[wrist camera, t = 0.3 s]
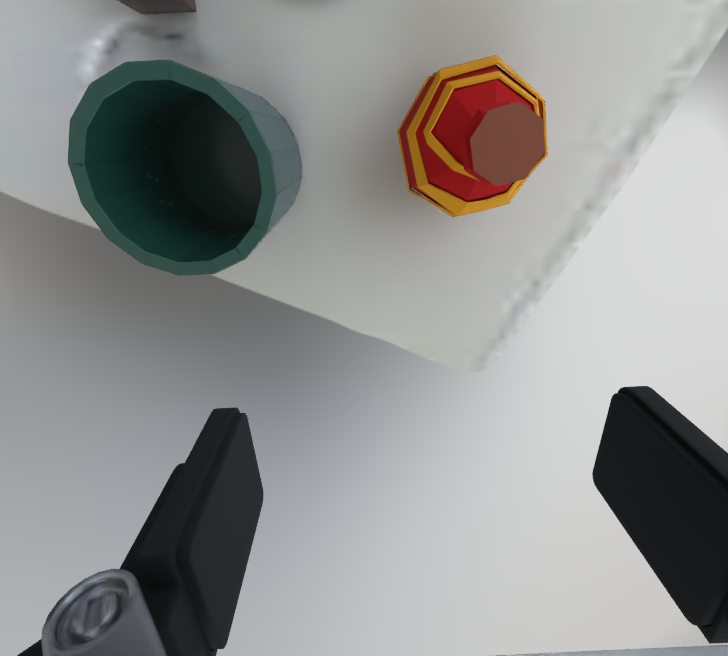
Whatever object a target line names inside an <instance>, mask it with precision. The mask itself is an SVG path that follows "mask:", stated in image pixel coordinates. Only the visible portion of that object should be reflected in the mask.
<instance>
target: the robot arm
mask: <svg viewBox="0 0 728 656" xmlns="http://www.w3.org/2000/svg"><path fill="white" fill-rule="evenodd" d="M593 481H594V484H595V486H596V487H597V489H598V491H599V492H600V493H601V495H602V496H603V498H604V499H605V501H606V502H607V503H608V505H609V507H610V508H611V510H612V511H613V512H614V514H615V515H616V517H617V518H618V520H619V521H620V523H621V524H622V526H623V527H624V528H625V530H626V531H627V533H628V534H629V536H630V537H631V538H632V540H633V542H634V543H635V545H636V546H637V547H638V549H639V550H640V552H641V553H642V555H643V556H644V558H645V559H646V561H647V562H648V564H649V565H650V567H651V568H652V569H653V571H654V572H655V574H656V575H657V577H658V578H659V580H660V581H661V583H662V584H663V585H664V587H665V588H666V590H667V591H668V593H669V594H670V596H671V597H672V599H673V600H674V601H675V603H676V604H677V606H678V607H679V609H680V610H681V612H682V613H683V615H684V616H685V617H686V618H687V620H688V621H689V622H691V623H692V624H693V625H697V626H698V627H699V629H700V630H701V632H702V633H703V634H704V636H705V638H706V639H707V640H708V642H709V643H728V453H727V452H726V451H724V450H723V449H722V448H721V447H720V446H718V445H717V444H716V443H715V442H714V441H713V440H712V439H710V438H709V437H708V436H707V435H706V434H704V433H703V432H702V431H701V430H700V429H699V428H698V427H696V426H695V425H694V424H693V423H692V422H690V421H689V420H688V419H687V418H686V417H685V416H683V415H682V414H681V413H680V412H679V411H677V410H676V409H675V408H674V407H673V406H672V405H671V404H669V403H668V402H667V401H666V400H665V399H664V398H662V397H661V396H660V395H659V394H657V393H656V392H655V391H654V390H653V389H652V388H650V387H648V386H637V387H623V388H621V389H620V390H619V391H618V393H616V394H614V395H613V396H612V399H611V403H610V407H609V410H608V415H607V418H606V422H605V426H604V430H603V434H602V438H601V442H600V446H599V450H598V453H597V457H596V461H595V465H594V469H593ZM262 503H263V487H262V483H261V478H260V474H259V469H258V465H257V460H256V455H255V451H254V446H253V441H252V437H251V432H250V428H249V423H248V419H247V415H246V414H245V413H240V412H239V409H238V408H219V409H214V410H213V411H212V412H211V414H210V416H209V418H208V420H207V422H206V424H205V426H204V428H203V429H202V431H201V433H200V435H199V437H198V439H197V441H196V443H195V445H194V447H193V449H192V451H191V452H190V454H189V456H188V458H187V460H186V462H185V463H182V464H179V465H178V466H176V468H175V469H174V471H173V473H172V474H171V476H170V478H169V479H168V481H167V483H166V485H165V487H164V489H163V491H162V492H161V494H160V496H159V498H158V500H157V501H156V503H155V505H154V507H153V509H152V511H151V512H150V514H149V516H148V518H147V520H146V522H145V523H144V525H143V527H142V529H141V531H140V533H139V534H138V536H137V538H136V540H135V542H134V544H133V545H132V547H131V549H130V551H129V553H128V554H127V556H126V558H125V560H124V562H123V564H122V565H121V567H120V569H110V570H106V571H101V572H98V573H96V574H94V575H92V576H90V577H88V578H86V579H84V580H82V581H81V582H80V583H78V584H77V585H75V586H74V587H73V588H71V589H70V590H69V591H68V592H67V593H66V594H65V595H64V596H63V597H62V598H61V599H60V600H59V601H58V602H57V604H56V605H55V606H54V608H53V609H52V611H51V612H50V613H49V615H48V617H47V619H46V622H45V624H44V627H43V630H42V639H41V640H39V641H38V642H37V643H35V644H33V645H32V646H31V647H29V648H28V649H26V650H25V651H23V652H22V653H20V654H19V655H18V656H216V652H217V649H223V648H224V647H225V645H226V643H227V640H228V637H229V632H230V629H231V625H232V621H233V617H234V613H235V609H236V606H237V601H238V597H239V594H240V590H241V586H242V582H243V578H244V574H245V570H246V566H247V562H248V558H249V555H250V550H251V546H252V543H253V539H254V535H255V531H256V527H257V523H258V519H259V515H260V511H261V507H262ZM499 656H728V645H717V646H694V647H671V648H649V649H625V650H603V651H582V652H560V653H539V654H520V655H519V654H518V655H499Z"/></svg>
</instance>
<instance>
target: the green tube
mask: <svg viewBox="0 0 728 656" xmlns="http://www.w3.org/2000/svg"><path fill="white" fill-rule="evenodd" d="M68 164H69V167H70V170H71V173H72V176H73V179H74V182H75V185H76V188H77V191H78V194H79V197H80V200H81V203H82V204H83V206H84V208H85V209H86V210H87V212H88V213H89V214H90V216H91V217H92V218H93V220H94V221H95V222H96V224H97V225H98V226H99V228H100V229H101V230H102V232H103V233H104V234H105V235H106V237H107V238H108V239H109V240H110V241H112V242H113V243H114V244H116V245H117V246H119V247H120V248H121V249H123V250H124V251H125V252H127V253H128V254H129V255H131V256H132V257H134V258H135V259H136V260H138V261H139V262H141V263H143V264H144V265H148V266H151V267H154V268H157V269H160V270H163V271H166V272H170V273H173V274H176V275H198V274H199V275H200V274H214V273H218V272H220V271H222V270H224V269H226V268H228V267H230V266H232V265H234V264H236V263H238V262H240V261H242V260H244V259H246V258H247V257H248V256H249V254H250V253H251V252H252V251H253V250H254V249H255V248H256V247H257V245H258V244H259V243H260V242H261V241H262V240H263V239H264V238H265V236H266V235H267V234H268V233H269V232H270V231H271V230H272V228H273V227H274V226H275V225H276V224H277V223H278V222H279V221H280V219H281V218H282V217H283V216H284V214H285V213H286V212H287V211H288V209H289V208H290V207H291V206H292V205H293V203H294V202H295V199H296V195H297V192H298V190H299V185H300V181H301V177H302V176H301V175H302V173H301V158H300V152H299V147H298V144H297V142H296V139H295V137H294V135H293V132H292V131H291V129H290V127H289V125H288V124H287V122H286V120H285V118H284V117H283V116H282V115H281V114H280V113H279V112H278V111H277V110H276V109H275V108H274V107H273V106H272V105H270V104H269V103H268V102H267V101H266V100H265V99H264V98H263V97H261V96H259V95H256V94H254V93H251V92H249V91H246V90H244V89H241V88H239V87H236V86H234V85H231V84H229V83H226V82H224V81H221V80H219V79H216V78H214V77H211V76H209V75H206V74H204V73H201V72H199V71H196V70H194V69H191V68H189V67H186V66H184V65H181V64H179V63H176V62H174V61H171V60H155V61H134V62H126V63H123V64H121V65H120V66H118V67H116V68H115V69H113V70H111V71H110V72H108V73H107V74H105V75H103V76H102V77H100V78H98V79H97V80H95V81H94V82H92V83H91V84H90V85H89V86H88V88H87V90H86V92H85V94H84V95H83V97H82V99H81V101H80V103H79V105H78V106H77V108H76V110H75V112H74V114H73V116H72V117H71V120H70V130H69V151H68Z"/></svg>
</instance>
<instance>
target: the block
mask: <svg viewBox="0 0 728 656" xmlns="http://www.w3.org/2000/svg"><path fill="white" fill-rule="evenodd" d="M118 1H120V2H121V3H123V4H125V5H127V6H129V7H130V8H132V9H134V10H136V11H137V12H139V13H141V14H151V13H171V12H191V11H196V8H195V2H194V0H118Z"/></svg>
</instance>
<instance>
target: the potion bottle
mask: <svg viewBox="0 0 728 656" xmlns="http://www.w3.org/2000/svg"><path fill="white" fill-rule="evenodd" d="M496 64H498V65H500V66H501V67H502V68H503V69H504V70H505V71H507V72H508V73H509V74H510V75H511V76H512V77H514V78H515V79H516V80H517V81H518V82H517V81H516V80H515V79H514V78H512V77H511V76H510V75H509V74H507V73H506V72H505V71H504V70H502V69H501V68H500V67H499V66H497V65H496ZM519 82H520V83H521V84H522V85H523V86H522V85H521V84H520V83H519ZM526 88H527V89H526ZM538 107H539V112H538ZM539 114H540V117H539ZM397 132H398V137H399V143H400V148H401V153H402V159H403V164H404V170H405V175H406V180H407V186H408V191H409V192H411V193H413V194H415V195H417V196H419V197H421V198H423V199H425V200H427V201H428V202H430V203H431V204H433V205H434V206H436V207H438V208H439V209H441V210H442V211H444V212H446V213H447V214H449V215H450V216H452V217H456V216H461V215H466V214H470V213H475V212H480V211H484V210H488V209H491V208H495V207H499V206H502V205H506V204H509V202H510V201H511V199H512V198H513V197H514V195H515V194H516V193H517V191H518V190H519V189H520V187H521V186H522V185H523V183H524V182H525V181H526V179H527V178H528V177H529V175H530V174H531V173H532V172H533V171H534V169H535V168H536V167H537V166H538V165H539V164H540V163H541V162H542V160H543V159H544V158H545V157H546V156H547V136H546V115H545V101H544V99H543V98H542V97H541V96H540V94H539V93H538V92H537V91H536V90H534V89H533V88H532V87H531V86H530V85H529V84H528V83H527V82H526V81H524V80H523V79H522V78H521V77H520V76H519V75H518V74H517V73H515V72H514V71H513V70H512V69H511V68H510V67H509V66H508V65H506V64H505V63H504V62H503V61H502V60H501V59H500V58H499V57H498V56H496V55H495V56H491V57H487V58H483V59H479V60H476V61H472V62H468V63H464V64H460V65H457V66H452V67H447V68H444V69H441V70H439V71H438V72H436V73H433V76H429V77H428V78H427V79H426V81H425V83H424V85H423V86H422V88H421V90H420V92H419V94H418V95H417V97H416V99H415V101H414V102H413V104H412V106H411V108H410V110H409V111H408V113H407V115H406V117H405V119H404V120H403V122H402V124H401V126H400V127H399V129H398V131H397ZM411 187H412V188H413V189H415V190H416V191H418V192H419V193H421V194H422V195H424V196H425V197H427V198H429V199H430V200H429V199H427V198H425V197H423V196H422V195H420V194H419V193H417V192H415V191H414V190H412V189H411ZM431 200H432V201H431Z"/></svg>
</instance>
